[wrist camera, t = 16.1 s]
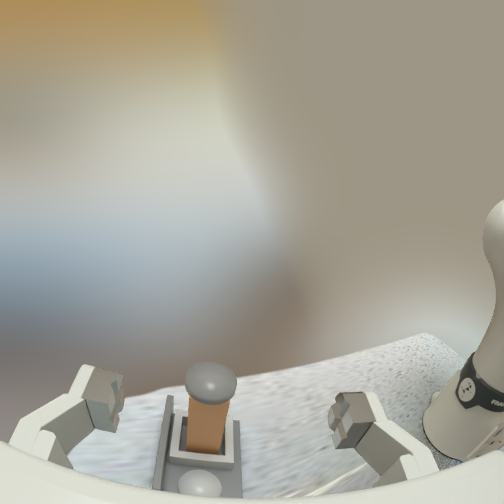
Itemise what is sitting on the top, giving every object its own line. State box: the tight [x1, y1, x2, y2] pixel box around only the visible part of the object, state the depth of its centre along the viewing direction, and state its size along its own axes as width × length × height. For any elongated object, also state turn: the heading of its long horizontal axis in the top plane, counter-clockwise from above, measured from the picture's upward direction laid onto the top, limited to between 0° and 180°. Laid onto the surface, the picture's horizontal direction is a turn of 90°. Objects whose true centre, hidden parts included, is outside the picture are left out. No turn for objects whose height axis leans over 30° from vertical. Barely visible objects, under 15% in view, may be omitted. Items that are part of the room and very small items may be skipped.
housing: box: [152, 395, 243, 498], centre depth 32 cm, size 10×14×5 cm
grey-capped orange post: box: [185, 362, 237, 455], centre depth 33 cm, size 5×5×13 cm
